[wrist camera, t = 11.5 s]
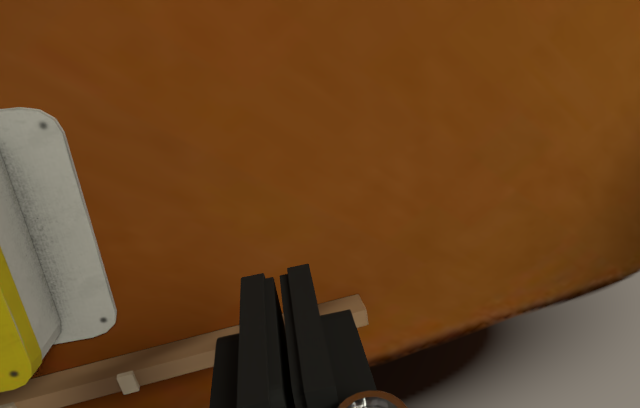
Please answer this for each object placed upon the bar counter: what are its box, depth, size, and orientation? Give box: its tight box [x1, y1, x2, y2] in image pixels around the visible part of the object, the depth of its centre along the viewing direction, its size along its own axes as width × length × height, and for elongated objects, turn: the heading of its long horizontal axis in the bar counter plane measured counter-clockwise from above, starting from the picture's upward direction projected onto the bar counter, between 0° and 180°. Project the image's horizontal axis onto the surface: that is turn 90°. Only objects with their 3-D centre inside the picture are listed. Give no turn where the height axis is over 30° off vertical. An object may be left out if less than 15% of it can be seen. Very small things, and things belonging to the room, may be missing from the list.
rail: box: [0, 294, 368, 408], centre depth 19 cm, size 20×1×1 cm, turn 100°
